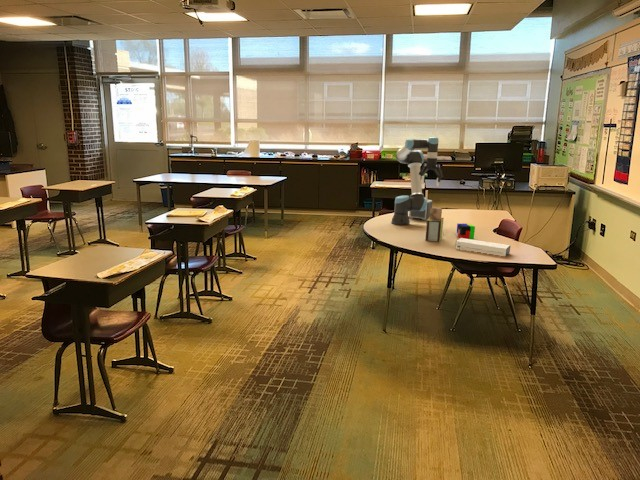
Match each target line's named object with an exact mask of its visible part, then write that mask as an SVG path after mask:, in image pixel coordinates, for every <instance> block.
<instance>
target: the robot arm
mask: <svg viewBox="0 0 640 480" xmlns="http://www.w3.org/2000/svg"><path fill="white" fill-rule="evenodd" d="M438 148H439V137H433V136H430V137H428V138H406V139H405V142H404V145H403V146H402V148H399V149H398V150H397V151H395V159H396V161H397V162H399V163H400V164H405V165H407V167H408V168H409V172H410V188H411V194H410V195H399V196H395V199H394V211H393V212H394V213H393V216H392V219H391V224H392V225H396V226H398V225H399V226H408V225H410V222H411V221H410V219H409V217H408V216H409V212H410V211H424V210H425V208H426V205H427V199H428V198H427V197H425V195H424V193H423V189H422V188H423V187H422V185H424V184H425V183H424V182H425V174H426V173H427V172H428V171H433V172H434V173H435V176H437V178H436V185H435V186H436V187H439V186H440V182H441V178H443V177H444V175H443V171H442V169H441V164H437V162H438V151H439V149H438ZM422 150H427V158H426V163H425V162H424V159H425V157H424V152H423V151H422ZM421 166H422V167H421Z"/></svg>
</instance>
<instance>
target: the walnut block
mask: <svg viewBox="0 0 640 480" xmlns="http://www.w3.org/2000/svg"><path fill="white" fill-rule="evenodd" d="M442 211H443V207H438V206H437V207H436V206H435V207H433V206H432V208H431V209H430V219H434V220H439V219H441V218H442V214H443V212H442Z"/></svg>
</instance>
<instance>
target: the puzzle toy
mask: <svg viewBox="0 0 640 480" xmlns="http://www.w3.org/2000/svg"><path fill="white" fill-rule="evenodd" d="M475 231H476V226H475V225H473V224H472V223H457V224H456V235H455V236H456V238H458V239H460V238H465V239H472V240H475Z"/></svg>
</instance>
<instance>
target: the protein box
mask: <svg viewBox="0 0 640 480" xmlns="http://www.w3.org/2000/svg"><path fill="white" fill-rule="evenodd" d="M425 228H426V230H425V231H426V232H425V241H426V242H437V243H440V242H441V240H442V237H443V230H444V229H443V228H444V217H441V219H439V220H434V219H430V217H429V218H428V220H427V221H426V227H425Z"/></svg>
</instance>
